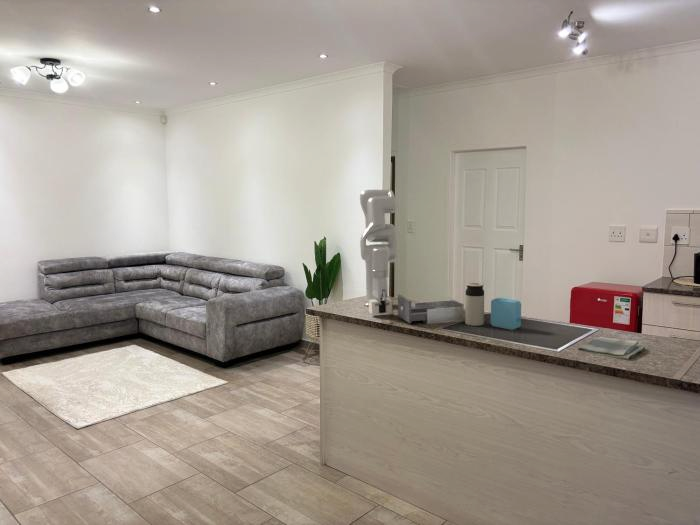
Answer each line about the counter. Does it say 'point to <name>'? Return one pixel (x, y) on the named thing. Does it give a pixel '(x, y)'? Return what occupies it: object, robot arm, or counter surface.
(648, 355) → the counter surface
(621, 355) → the dish towel
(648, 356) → the counter surface
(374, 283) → the robot arm
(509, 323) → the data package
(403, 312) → the grey drawer
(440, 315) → the grey storage bin
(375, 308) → the cartridge
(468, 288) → the travel mug
